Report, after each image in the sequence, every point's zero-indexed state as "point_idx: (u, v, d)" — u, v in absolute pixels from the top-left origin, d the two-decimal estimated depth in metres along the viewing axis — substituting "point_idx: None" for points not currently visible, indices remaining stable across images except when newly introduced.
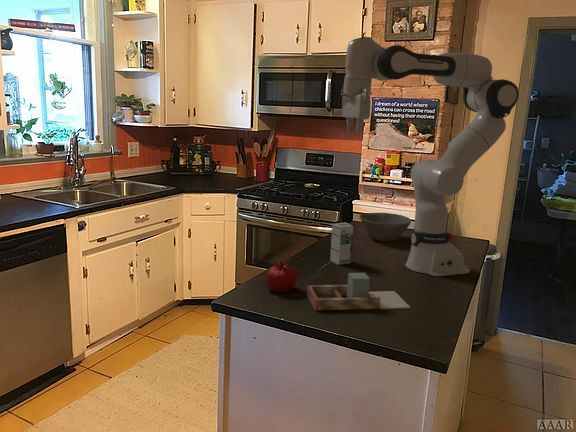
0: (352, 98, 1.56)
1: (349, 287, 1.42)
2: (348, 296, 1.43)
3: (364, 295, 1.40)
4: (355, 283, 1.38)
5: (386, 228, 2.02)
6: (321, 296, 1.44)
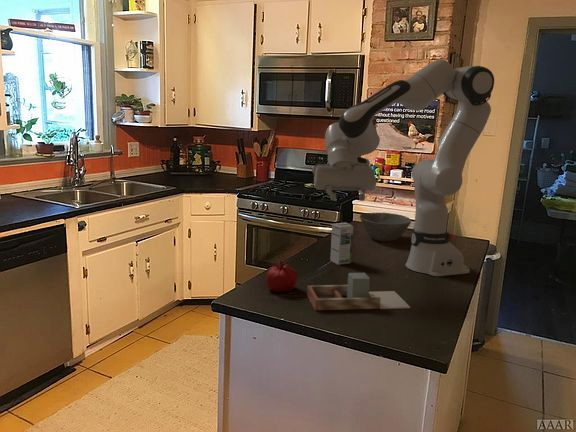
0: None
1: (349, 287, 1.42)
2: (348, 296, 1.43)
3: (364, 295, 1.40)
4: (355, 283, 1.38)
5: (386, 228, 2.02)
6: (321, 296, 1.44)
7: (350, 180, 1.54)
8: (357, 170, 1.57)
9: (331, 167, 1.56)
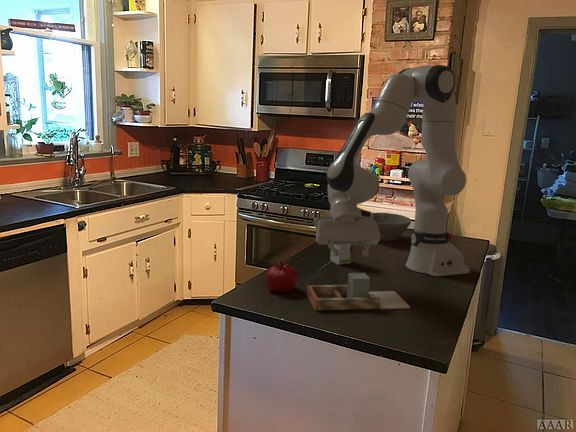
0: None
1: (349, 287, 1.42)
2: (348, 296, 1.43)
3: (364, 295, 1.40)
4: (355, 283, 1.38)
5: (386, 228, 2.02)
6: (321, 296, 1.44)
7: (353, 235, 1.49)
8: (361, 224, 1.52)
9: (334, 220, 1.51)
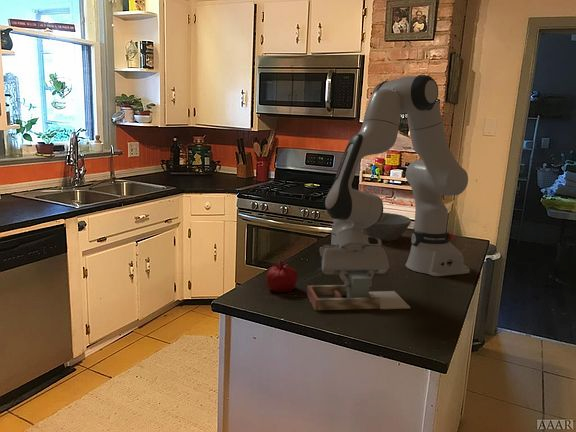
0: None
1: (349, 287, 1.42)
2: (348, 296, 1.43)
3: (364, 295, 1.40)
4: (355, 283, 1.38)
5: (386, 228, 2.02)
6: (321, 296, 1.44)
7: (360, 264, 1.43)
8: (368, 252, 1.46)
9: (340, 249, 1.45)
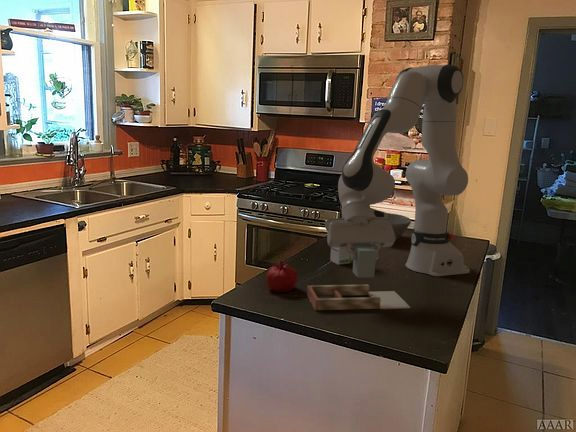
0: None
1: (355, 260, 1.40)
2: (354, 269, 1.41)
3: (370, 268, 1.38)
4: (361, 255, 1.37)
5: None
6: (321, 296, 1.44)
7: (367, 237, 1.41)
8: (374, 225, 1.44)
9: (346, 222, 1.43)
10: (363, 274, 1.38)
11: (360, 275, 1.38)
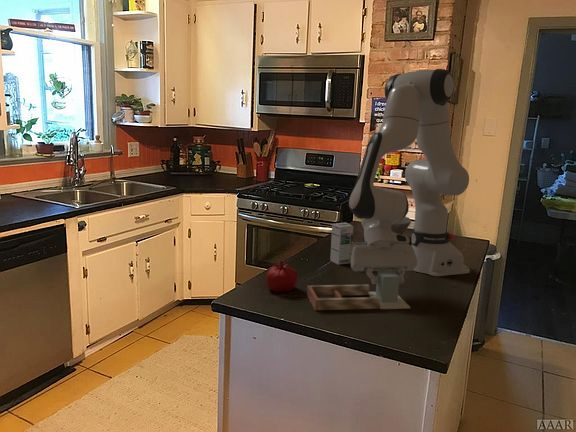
0: None
1: (378, 285, 1.43)
2: (377, 294, 1.44)
3: (394, 293, 1.41)
4: (385, 281, 1.40)
5: None
6: (321, 296, 1.44)
7: (389, 262, 1.44)
8: (396, 249, 1.47)
9: (369, 246, 1.46)
10: (387, 299, 1.41)
11: (383, 300, 1.41)
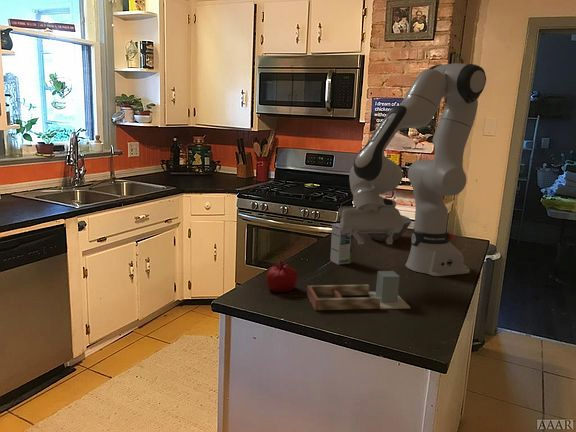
0: None
1: (378, 285, 1.43)
2: (377, 294, 1.44)
3: (394, 293, 1.41)
4: (385, 281, 1.40)
5: None
6: (321, 296, 1.44)
7: (377, 224, 1.53)
8: (384, 212, 1.56)
9: (357, 209, 1.55)
10: (387, 299, 1.41)
11: (383, 300, 1.41)
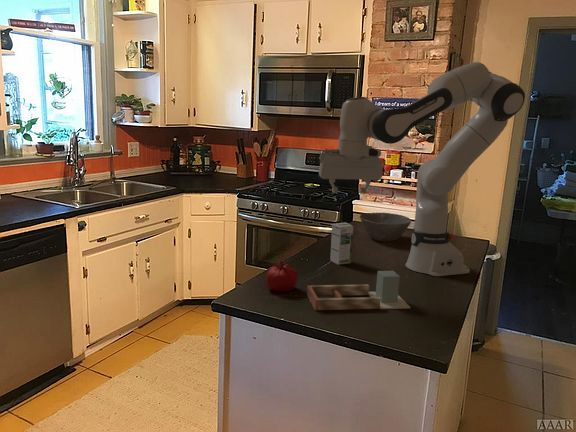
0: None
1: (378, 285, 1.43)
2: (377, 294, 1.44)
3: (394, 293, 1.41)
4: (385, 281, 1.40)
5: (386, 228, 2.02)
6: (321, 296, 1.44)
7: (355, 175, 1.52)
8: (366, 161, 1.51)
9: (340, 157, 1.50)
10: (387, 299, 1.41)
11: (383, 300, 1.41)
